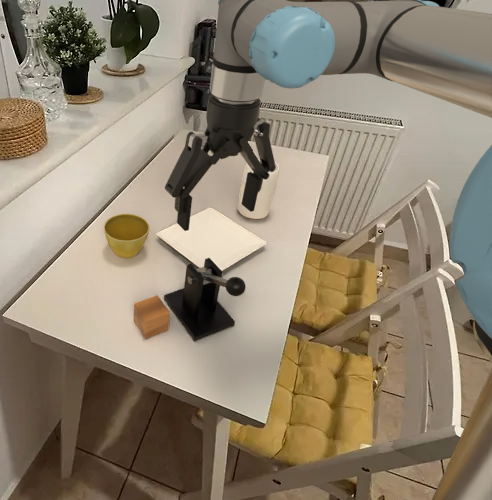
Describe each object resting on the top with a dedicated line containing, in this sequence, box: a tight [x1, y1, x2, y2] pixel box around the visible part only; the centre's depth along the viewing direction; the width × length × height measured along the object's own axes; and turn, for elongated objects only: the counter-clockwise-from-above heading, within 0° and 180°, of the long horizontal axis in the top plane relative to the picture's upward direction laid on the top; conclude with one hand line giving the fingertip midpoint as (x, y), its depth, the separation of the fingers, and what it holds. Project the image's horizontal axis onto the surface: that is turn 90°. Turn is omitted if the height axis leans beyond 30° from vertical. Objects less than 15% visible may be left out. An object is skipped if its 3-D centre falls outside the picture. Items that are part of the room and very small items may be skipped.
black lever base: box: [163, 258, 236, 342], centre depth 82 cm, size 12×9×12 cm
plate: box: [155, 206, 268, 272], centre depth 101 cm, size 19×19×2 cm
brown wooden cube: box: [133, 294, 171, 340], centre depth 81 cm, size 5×5×5 cm
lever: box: [195, 267, 247, 297], centre depth 74 cm, size 13×3×3 cm, turn 26°
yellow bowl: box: [103, 213, 150, 259], centre depth 97 cm, size 10×10×7 cm
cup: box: [237, 157, 281, 220], centre depth 107 cm, size 8×8×14 cm
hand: (216, 216), depth 75 cm, fingers open, 13 cm apart
